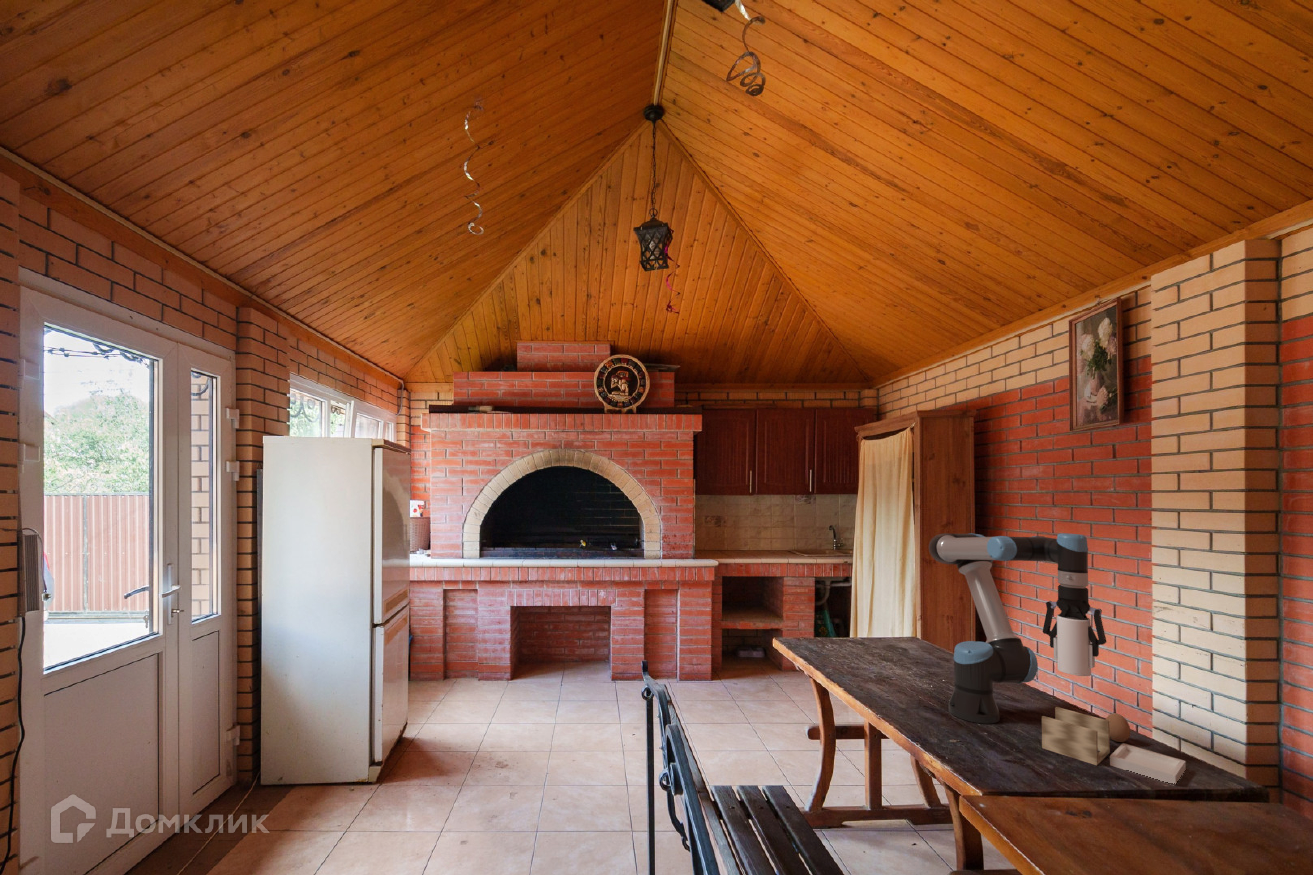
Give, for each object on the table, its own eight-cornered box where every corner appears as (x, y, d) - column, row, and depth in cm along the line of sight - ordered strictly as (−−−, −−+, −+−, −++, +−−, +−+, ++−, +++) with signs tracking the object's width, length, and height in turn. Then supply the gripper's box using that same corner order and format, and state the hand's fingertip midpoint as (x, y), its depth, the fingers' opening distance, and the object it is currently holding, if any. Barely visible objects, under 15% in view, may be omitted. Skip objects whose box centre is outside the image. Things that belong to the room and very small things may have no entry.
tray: (1110, 765, 167) (1109, 755, 167) (1122, 751, 176) (1122, 742, 176) (1175, 785, 156) (1175, 775, 157) (1185, 770, 165) (1185, 760, 166)
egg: (1125, 747, 179) (1124, 719, 180) (1100, 739, 185) (1099, 711, 185) (1134, 743, 182) (1133, 715, 183) (1109, 735, 188) (1109, 708, 189)
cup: (1096, 677, 173) (1095, 621, 174) (1065, 674, 175) (1064, 618, 176) (1082, 668, 181) (1081, 615, 182) (1052, 666, 183) (1051, 613, 184)
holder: (1042, 747, 177) (1041, 716, 178) (1056, 736, 186) (1056, 706, 186) (1096, 765, 167) (1096, 732, 167) (1109, 752, 175) (1109, 720, 176)
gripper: (1029, 581, 185) (1029, 656, 184) (1112, 592, 169) (1114, 675, 168) (1037, 579, 190) (1038, 652, 188) (1119, 590, 174) (1121, 670, 172)
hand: (1074, 663), depth 178 cm, fingers closed on cup, 8 cm apart
